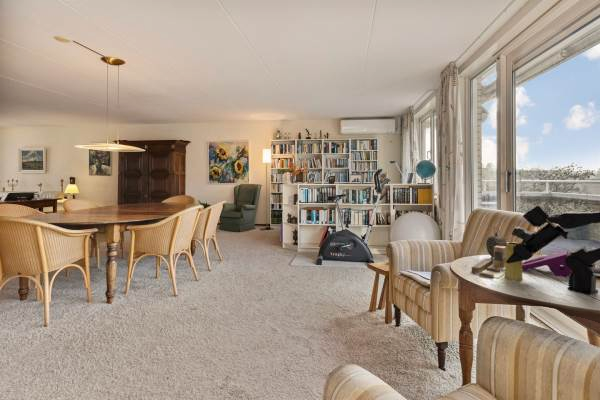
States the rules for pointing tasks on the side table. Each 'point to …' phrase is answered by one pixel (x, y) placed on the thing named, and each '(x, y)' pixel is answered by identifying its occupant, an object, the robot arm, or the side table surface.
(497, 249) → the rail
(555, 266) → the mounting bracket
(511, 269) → the vase
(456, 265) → the side table surface
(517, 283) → the side table surface
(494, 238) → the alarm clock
